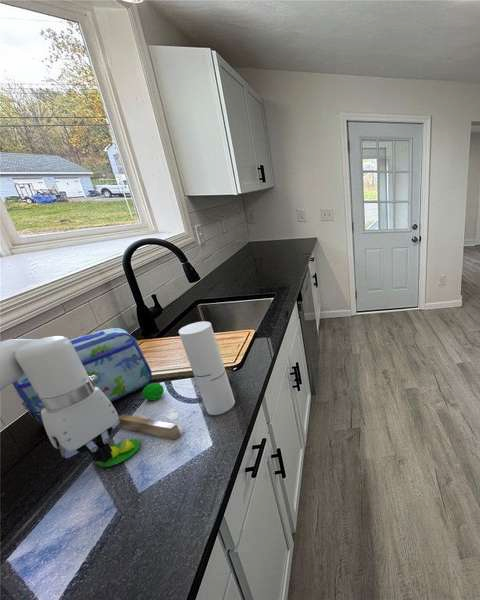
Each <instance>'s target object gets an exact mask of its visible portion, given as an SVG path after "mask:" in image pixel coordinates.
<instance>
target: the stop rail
mask: <svg viewBox="0 0 480 600" xmlns="http://www.w3.org/2000/svg"><path fill="white" fill-rule="evenodd" d="M118 417H119V420H120V423H119V425H120V427H121V429H122V430H127V431H132V432H137V433H141V434H146V435H151V436H156V437H161V438H165V439H170V440H177V439H178V438H179V437H180V436H181V435H182V434H181V432H180V429H179V427H178V424H176V423H173V422H172V423H171V422H167V421H162V420H157V419H151V418H146V417H141V416H137V415H136V416H135V415H131V414H125V413H124V414H122V415H120V416H118Z"/></svg>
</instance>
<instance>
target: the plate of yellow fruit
mask: <svg viewBox="0 0 480 600" xmlns="http://www.w3.org/2000/svg"><path fill="white" fill-rule="evenodd" d="M110 447H111V449H112V452H111V454H112V456H113V457H112V458H111V459H108V461H107V462H106V463H103V462H100V461H98V462H96V464H97V465H98V466H99V467H101V468H106V467H107V468H108V467H112V466H115V465H118V464H120V463H123V462H124V461H126V460H127V459H129V458H130V457H132V456H133V455H134V454H135V453H136V452H138V450H139V449H140V447H141V440H139V439H137V438H130V439H124V440H123V441H120V442H117V443H116V444H114V445H112V446H110Z"/></svg>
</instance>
